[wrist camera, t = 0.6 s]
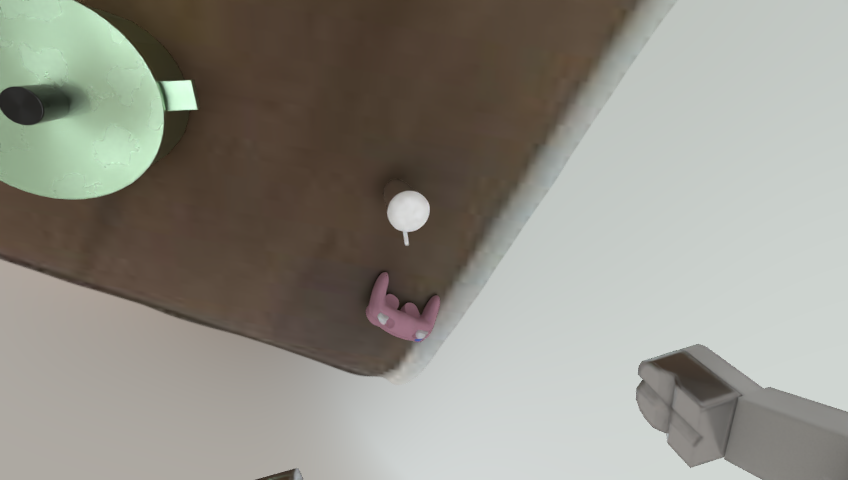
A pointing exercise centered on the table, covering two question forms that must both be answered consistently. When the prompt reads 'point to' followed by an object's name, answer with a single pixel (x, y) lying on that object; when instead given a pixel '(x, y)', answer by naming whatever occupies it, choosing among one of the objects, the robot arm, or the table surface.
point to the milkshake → (405, 207)
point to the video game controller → (400, 313)
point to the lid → (73, 102)
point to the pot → (162, 80)
